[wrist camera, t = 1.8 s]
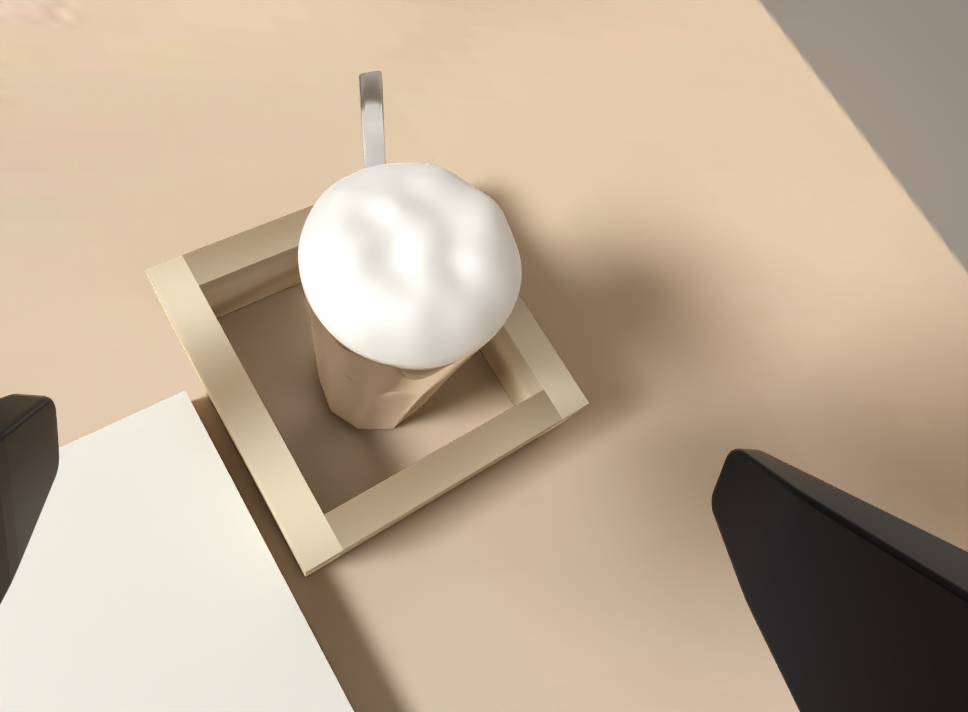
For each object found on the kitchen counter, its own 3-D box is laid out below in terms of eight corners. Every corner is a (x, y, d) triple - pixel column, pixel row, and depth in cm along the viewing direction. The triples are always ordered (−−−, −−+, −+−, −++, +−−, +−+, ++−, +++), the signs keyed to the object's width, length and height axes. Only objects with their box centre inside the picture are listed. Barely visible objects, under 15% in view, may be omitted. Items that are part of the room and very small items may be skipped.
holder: (559, 424, 23) (589, 403, 20) (305, 577, 19) (306, 572, 17) (420, 202, 24) (433, 160, 22) (161, 307, 21) (145, 269, 18)
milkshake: (407, 275, 23) (479, 55, 14) (467, 424, 22) (588, 287, 13) (269, 311, 22) (249, 89, 12) (326, 474, 20) (350, 359, 11)
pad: (378, 759, 18) (383, 767, 17) (54, 999, 15) (39, 1024, 14) (190, 400, 20) (185, 390, 19) (-132, 549, 17) (-156, 545, 16)
